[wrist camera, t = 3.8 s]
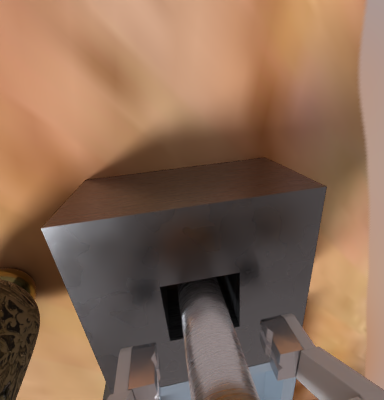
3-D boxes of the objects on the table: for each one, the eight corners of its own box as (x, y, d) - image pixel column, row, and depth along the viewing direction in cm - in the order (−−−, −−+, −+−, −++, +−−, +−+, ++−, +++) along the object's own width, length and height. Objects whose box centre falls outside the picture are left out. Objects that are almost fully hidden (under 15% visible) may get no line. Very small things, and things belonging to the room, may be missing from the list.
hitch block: (258, 287, 20) (297, 355, 15) (124, 313, 19) (112, 397, 13) (265, 157, 15) (326, 186, 10) (85, 180, 14) (40, 228, 8)
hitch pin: (213, 259, 18) (308, 505, 7) (165, 268, 18) (183, 543, 7) (211, 216, 16) (328, 447, 5) (157, 225, 16) (164, 494, 5)
